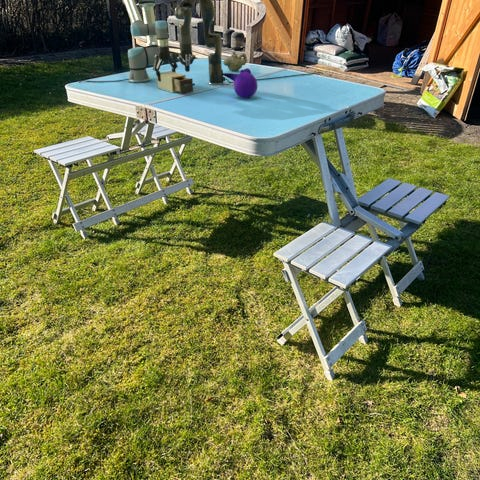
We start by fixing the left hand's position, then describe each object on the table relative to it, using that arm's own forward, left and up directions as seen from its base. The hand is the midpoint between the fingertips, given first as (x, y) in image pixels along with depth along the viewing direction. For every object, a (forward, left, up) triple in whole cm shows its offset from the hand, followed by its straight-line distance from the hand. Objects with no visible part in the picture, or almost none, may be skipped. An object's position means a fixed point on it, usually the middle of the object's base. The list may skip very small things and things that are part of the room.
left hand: (166, 79), depth 315 cm
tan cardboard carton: (+2, -6, -5) cm, 8 cm away
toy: (+41, -45, -5) cm, 61 cm away
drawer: (+7, -18, -4) cm, 20 cm away
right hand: (+10, -27, +9) cm, 30 cm away
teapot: (+63, +42, -5) cm, 76 cm away
